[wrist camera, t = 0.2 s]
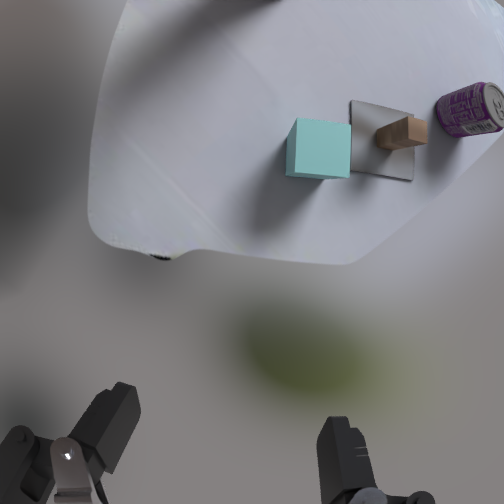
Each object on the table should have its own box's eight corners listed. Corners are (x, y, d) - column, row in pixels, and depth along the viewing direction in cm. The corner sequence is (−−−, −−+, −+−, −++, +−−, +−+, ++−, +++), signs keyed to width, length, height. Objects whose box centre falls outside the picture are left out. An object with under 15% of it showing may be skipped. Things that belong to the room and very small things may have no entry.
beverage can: (470, 131, 30) (518, 125, 19) (446, 143, 31) (497, 136, 20) (452, 92, 29) (498, 76, 17) (427, 101, 30) (474, 82, 18)
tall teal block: (287, 136, 33) (297, 117, 23) (326, 140, 33) (351, 124, 22) (285, 175, 34) (294, 172, 24) (324, 179, 34) (349, 177, 24)
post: (350, 100, 31) (376, 77, 22) (412, 115, 31) (448, 101, 22) (349, 170, 33) (377, 166, 24) (411, 180, 33) (450, 182, 24)
